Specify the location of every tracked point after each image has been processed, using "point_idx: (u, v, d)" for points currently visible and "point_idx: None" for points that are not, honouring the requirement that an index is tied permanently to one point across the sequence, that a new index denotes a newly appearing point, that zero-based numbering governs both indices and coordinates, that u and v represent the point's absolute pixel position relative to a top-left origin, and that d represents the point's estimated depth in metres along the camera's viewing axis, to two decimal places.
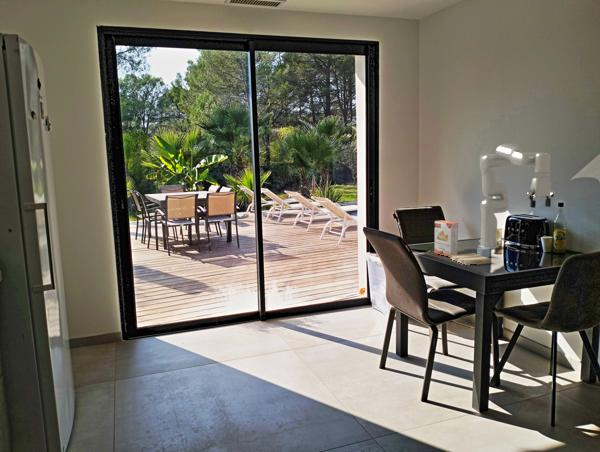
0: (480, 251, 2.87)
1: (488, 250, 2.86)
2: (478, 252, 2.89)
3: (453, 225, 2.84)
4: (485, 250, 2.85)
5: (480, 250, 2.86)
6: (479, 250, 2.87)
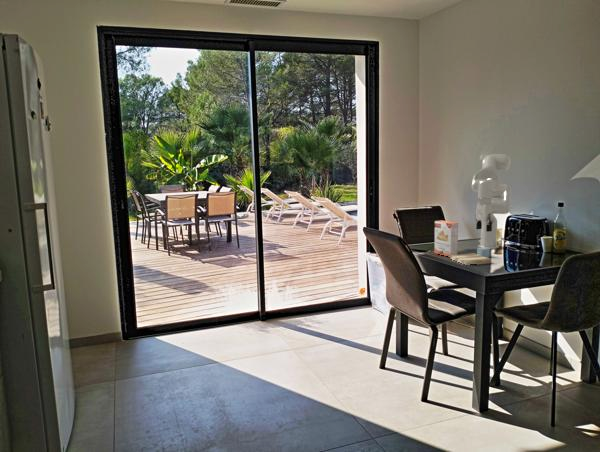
0: (480, 251, 2.87)
1: (488, 250, 2.86)
2: (478, 252, 2.89)
3: (453, 225, 2.84)
4: (485, 250, 2.85)
5: (480, 250, 2.86)
6: (479, 250, 2.87)
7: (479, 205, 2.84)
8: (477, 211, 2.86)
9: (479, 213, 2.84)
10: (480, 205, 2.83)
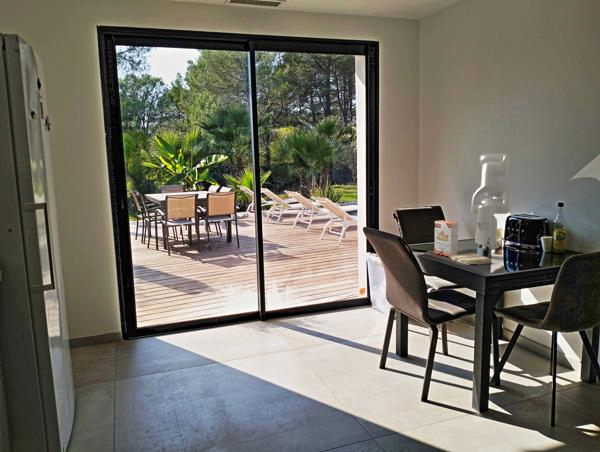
0: (480, 251, 2.86)
1: None
2: (478, 252, 2.89)
3: (453, 225, 2.84)
4: None
5: (480, 250, 2.86)
6: (479, 250, 2.87)
7: (478, 229, 2.86)
8: (476, 235, 2.88)
9: (478, 237, 2.87)
10: (479, 229, 2.85)
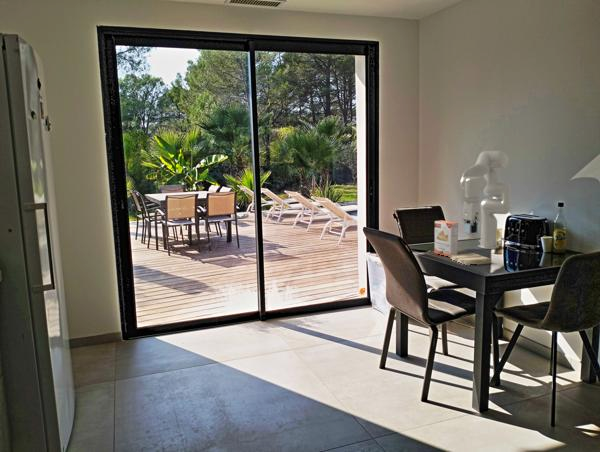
0: (467, 226, 2.73)
1: None
2: (465, 228, 2.75)
3: (453, 225, 2.84)
4: None
5: (468, 225, 2.73)
6: (467, 225, 2.74)
7: (466, 204, 2.73)
8: (464, 210, 2.75)
9: (466, 212, 2.73)
10: (467, 204, 2.72)
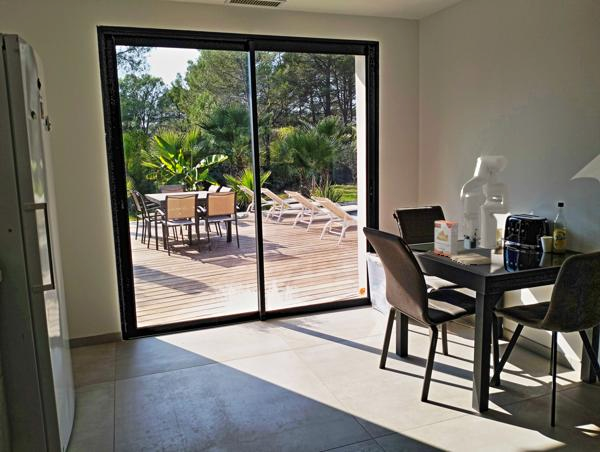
0: (467, 242, 2.74)
1: None
2: (465, 244, 2.76)
3: (453, 225, 2.84)
4: None
5: (467, 241, 2.74)
6: (466, 241, 2.75)
7: (465, 220, 2.74)
8: (463, 226, 2.76)
9: (465, 228, 2.74)
10: (466, 220, 2.73)
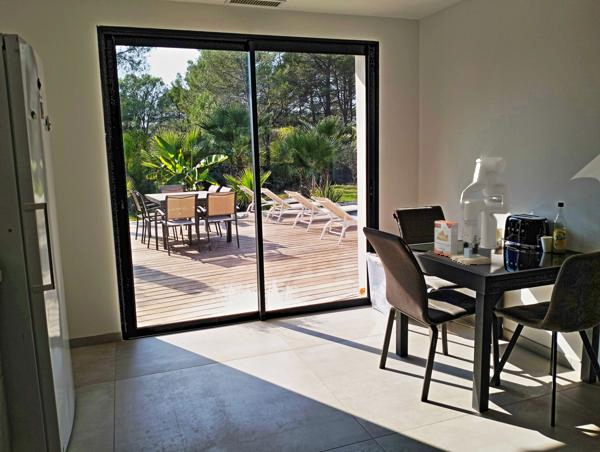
0: (467, 251, 2.75)
1: None
2: (465, 252, 2.77)
3: (453, 225, 2.84)
4: None
5: (467, 250, 2.75)
6: (466, 250, 2.76)
7: (465, 226, 2.75)
8: (463, 232, 2.77)
9: (465, 234, 2.75)
10: (466, 226, 2.74)
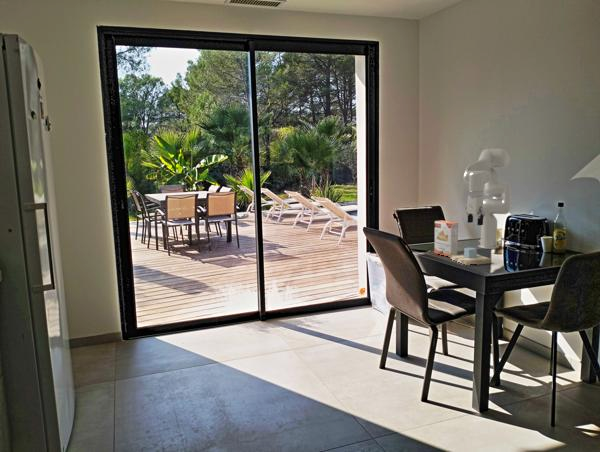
0: (467, 251, 2.75)
1: (475, 250, 2.74)
2: (465, 252, 2.77)
3: (453, 225, 2.84)
4: (472, 250, 2.74)
5: (467, 250, 2.75)
6: (466, 250, 2.76)
7: (470, 198, 2.74)
8: (468, 204, 2.76)
9: (470, 206, 2.75)
10: (471, 198, 2.73)
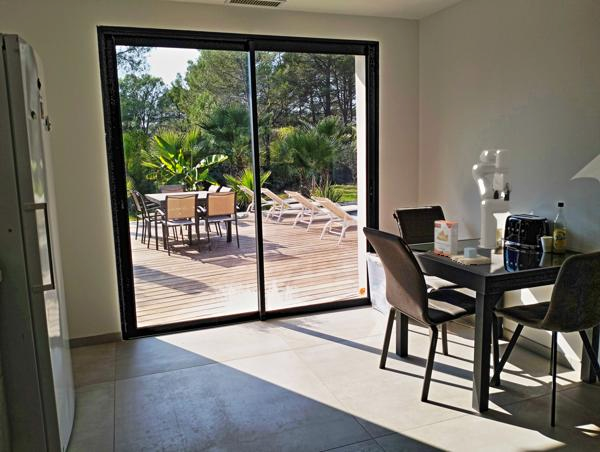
0: (467, 251, 2.75)
1: (475, 250, 2.74)
2: (465, 252, 2.77)
3: (453, 225, 2.84)
4: (472, 250, 2.74)
5: (467, 250, 2.75)
6: (466, 250, 2.76)
7: (496, 175, 2.84)
8: (494, 181, 2.86)
9: (496, 183, 2.84)
10: (497, 175, 2.83)
